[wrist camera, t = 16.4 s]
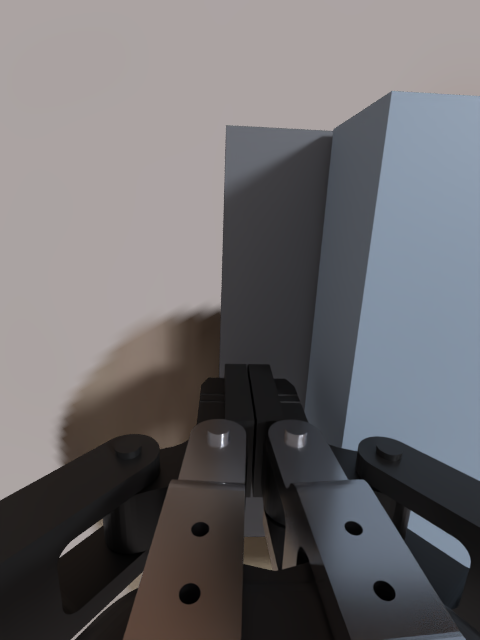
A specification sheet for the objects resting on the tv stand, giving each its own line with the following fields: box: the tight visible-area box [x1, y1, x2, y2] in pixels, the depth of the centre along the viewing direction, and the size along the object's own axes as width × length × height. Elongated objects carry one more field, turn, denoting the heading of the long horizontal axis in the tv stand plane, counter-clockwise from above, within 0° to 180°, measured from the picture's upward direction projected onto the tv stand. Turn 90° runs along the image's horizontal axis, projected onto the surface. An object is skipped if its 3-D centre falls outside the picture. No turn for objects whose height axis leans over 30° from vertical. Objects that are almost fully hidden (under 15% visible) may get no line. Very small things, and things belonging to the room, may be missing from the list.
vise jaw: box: [304, 91, 480, 568], centre depth 12 cm, size 16×8×4 cm, turn 178°
